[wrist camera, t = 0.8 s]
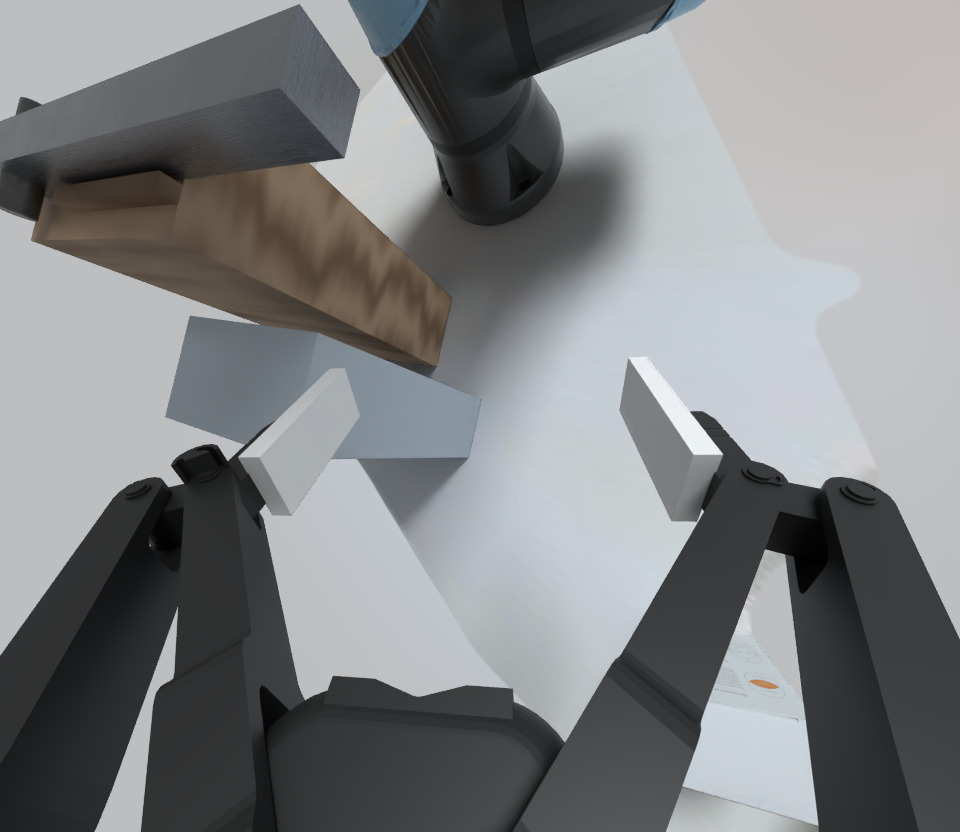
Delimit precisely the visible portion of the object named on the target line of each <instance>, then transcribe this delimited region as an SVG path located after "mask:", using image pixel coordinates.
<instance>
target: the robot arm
mask: <svg viewBox="0 0 960 832" xmlns="http://www.w3.org/2000/svg"><path fill="white" fill-rule="evenodd" d="M348 1H349V3H350V5H351V7H352V9H353V11H354V13H355V15H356V17H357V18H358V21H359V23H360V24H361V26H362V28H363V30H364V32H365V34H366V36H367V38H368V40H369V43H370V46H371V49H372V50H373V52H374V53H375V54H376V55H377V56H378V57H379V58H380V60H381V61H382V63H383V65H384V66H385V68H386V70H387V71H388V73H389V75H390V76H391V78H392V79H393V81H394V83H395V84H396V86H397V88H398V89H399V91H400V93H401V94H402V96H403V97H404V99H405V101H406V102H407V104H408V106H409V107H410V109H411V111H412V112H413V114H414V115H415V117H416V119H417V120H418V122H419V124H420V125H421V127H422V129H423V130H424V132H425V133H426V135H427V137H428V138H429V140H430V142H431V143H432V145H433V148H434V153H435V157H436V162H437V166H438V170H439V175H440V179H441V183H442V187H443V190H444V192H445V194H446V196H447V198H448V200H449V201H450V203H451V204H452V206H453V207H454V209H455V210H456V211H457V213H458V214H459V215H460V216H462V217H463V218H464V219H466V220H468V221H470V222H472V223H476V224H481V225H494V224H500V223H504V222H507V221H510V220H512V219H515V218H517V217H518V216H520V215H522V214H524V213H525V212H527V211H528V210H529V209H531V208H532V207H533V206H534V205H536V204H537V203H538V202H539V201H540V200H541V199H542V198H543V197H544V195H545V194H546V193H547V192H548V190H549V189H550V187H551V186H552V184H553V183H554V181H555V179H556V177H557V175H558V172H559V170H560V167H561V164H562V159H563V152H564V145H563V137H562V132H561V126H560V122H559V119H558V116H557V113H556V111H555V110H554V108H553V106H552V105H551V104H550V103H549V101H548V99H547V98H546V96H545V94H544V93H543V91H542V90H541V88H540V86H539V85H538V83H537V82H536V80H535V79H534V77H533V75H536V74H538V73H541V72H544V71H546V70H549V69H551V68H554V67H557V66H559V65H562V64H565V63H567V62H570V61H573V60H575V59H578V58H581V57H583V56H586V55H589V54H591V53H594V52H597V51H599V50H602V49H604V48H607V47H610V46H612V45H615V44H618V43H620V42H623V41H626V40H628V39H631V38H634V37H636V36H639V35H642V34H644V33H645V34H648V33H650V32H652V31H655V30H657V29H658V28H660V27H661V26H662V25H663V24H664V23H666V22H668V21H670V20H672V19H674V18H676V17H678V16H681V15H683V14H685V13H687V12H689V11H691V10H693V9H695V8H696V7H698V6H699V5H701V4H702V3H703V2H705V1H706V0H348ZM619 411H620V413H621V415H622V417H623V419H624V421H625V424H626V426H627V428H628V430H629V432H630V434H631V436H632V438H633V441H634V443H635V445H636V447H637V449H638V451H639V453H640V455H641V458H642V460H643V462H644V464H645V466H646V468H647V470H648V472H649V474H650V477H651V479H652V481H653V483H654V485H655V487H656V489H657V491H658V494H659V496H660V498H661V500H662V502H663V504H664V506H665V508H666V511H667V513H668V515H669V517H670V519H671V521H695V522H697V520H698V517H699V515H700V512H701V510H702V509H703V511H704V513H703V515H702V516H701V518H700V520H699V522H698V523H697V525H696V527H695V529H694V530H693V532H692V534H691V535H690V537H689V539H688V541H687V542H686V544H685V546H684V547H683V549H682V551H681V553H680V554H679V556H678V558H677V559H676V561H675V563H674V565H673V566H672V568H671V570H670V572H669V573H668V575H667V577H666V578H665V580H664V582H663V584H662V585H661V587H660V589H659V590H658V592H657V594H656V596H655V597H654V599H653V601H652V602H651V604H650V606H649V608H648V609H647V611H646V613H645V615H644V616H643V618H642V620H641V621H640V623H639V625H638V627H637V628H636V630H635V632H634V633H633V635H632V637H631V639H630V640H629V642H628V644H627V645H626V647H625V649H624V651H623V652H622V654H621V655H620V657H618V658H617V659H615V661H614V662H613V663H612V665H611V666H610V668H609V670H608V671H607V673H606V674H605V676H604V678H603V680H602V681H601V683H600V685H599V686H598V688H597V690H596V691H595V693H594V695H593V696H592V698H591V700H590V702H589V703H588V705H587V707H586V708H585V710H584V712H583V713H582V715H581V717H580V719H579V720H578V722H577V724H576V725H575V727H574V729H573V730H572V732H571V734H570V736H569V737H568V739H567V741H566V742H564V741H563V740H562V738H561V737H560V736H559V735H558V733H557V732H556V731H555V730H554V729H553V728H552V727H551V726H550V725H549V724H548V723H547V722H546V721H545V720H544V719H542V718H541V717H540V716H539V715H537V714H536V713H535V712H533V711H531V710H530V709H528V708H526V707H525V706H522V705H520V704H518V703H515V702H514V699H513V689H509V688H494V687H481V686H467V685H466V686H463V687H458V688H455V689H450V690H446V691H442V692H438V693H434V694H430V695H426V696H421V697H416V696H412V695H410V694H408V693H406V692H403V691H401V690H399V689H397V688H394V687H392V686H390V685H388V684H385V683H383V682H381V681H378V680H376V679H369V678H356V677H355V678H354V677H341V676H333V677H332V680H331V683H330V685H329V688H328V691H325V692H322V693H320V694H317V695H314V696H312V697H310V698H309V699H307V700H304V698H303V695H302V694H301V691H300V688H299V685H298V681H297V677H296V672H295V667H294V662H293V658H292V653H291V648H290V643H289V639H288V634H287V629H286V624H285V620H284V615H283V610H282V605H281V600H280V596H279V591H278V586H277V582H276V577H275V572H274V567H273V563H272V558H271V553H270V548H269V543H268V539H267V534H266V529H265V524H264V520H263V517H262V516H261V514H260V513H259V511H260V510H261V509H262V508H263V506H264V505H265V504H266V505H267V507H268V509H269V510H270V512H271V514H272V515H292V514H293V513H294V511H295V510H296V509H297V507H298V506H299V504H300V503H301V501H302V500H303V498H304V497H305V495H306V494H307V493H308V491H309V490H310V488H311V487H312V485H313V484H314V482H315V481H316V479H317V478H318V476H319V475H320V474H321V472H322V471H323V469H324V468H325V466H326V465H327V463H328V462H329V460H330V459H331V458H332V456H333V455H334V453H335V452H336V450H337V449H338V447H339V446H340V444H341V443H342V441H343V440H344V439H345V437H346V436H347V434H348V433H349V431H350V430H351V428H352V427H353V425H354V424H355V423H356V421H357V420H358V418H359V417H360V414H359V411H358V408H357V405H356V402H355V399H354V396H353V392H352V389H351V386H350V383H349V380H348V377H347V374H346V371H345V368H334V369H329V370H328V371H327V372H326V373H325V374H324V375H323V376H322V377H321V378H320V379H319V380H317V381H316V382H315V383H314V384H313V385H312V386H311V387H310V388H309V389H308V390H307V391H306V392H305V393H304V394H303V395H302V396H301V397H300V398H299V399H298V400H297V401H296V402H295V403H294V404H293V405H292V406H291V407H290V408H288V409H287V410H286V411H285V412H284V413H283V414H282V415H281V416H280V417H279V418H278V419H277V420H275V421H274V422H272V423H270V424H269V425H267V426H265V427H264V428H263V429H261V430H260V431H259V432H258V433H257V434H256V435H255V437H253V438H252V439H251V440H250V441H249V442H248V444H246V445H245V446H244V447H243V448H241V449H240V450H239V451H238V452H237V453H236V454H235V455H234V456H233V457H232V458H231V459H230V460H229V461H227V460H226V458H225V457H224V455H223V453H222V452H221V450H220V449H219V447H218V446H217V445H213V444H209V445H202V446H199V447H195V448H193V449H190V450H188V451H186V452H185V453H183V454H181V455H179V456H178V457H177V458H176V459H175V460H174V461H173V463H172V465H171V466H172V468H173V469H174V470H175V472H176V473H177V474H178V476H179V477H180V478H181V480H182V481H183V482H184V484H182V485H177V486H173V487H168V486H167V485H166V484H165V483H164V481H163V480H162V479H161V478H156V477H153V478H147V479H144V480H141V481H136V482H134V483H133V484H130V485H128V486H127V487H126V488H124V489H123V490H122V491H120V492H119V493H118V494H117V495H116V496H115V497H114V498H113V499H112V501H111V502H110V503H109V505H108V506H107V508H106V509H105V510H104V512H103V513H102V515H101V516H100V517H99V519H98V520H97V522H96V523H95V524H94V526H93V527H92V529H91V530H90V531H89V533H88V534H87V536H86V537H85V538H84V540H83V541H82V542H81V544H80V545H79V547H78V548H77V549H76V551H75V552H74V554H73V555H72V556H71V558H70V559H69V561H68V562H67V563H66V565H65V566H64V568H63V569H62V570H61V572H60V573H59V575H58V576H57V577H56V579H55V580H54V582H53V583H52V585H51V586H50V587H49V589H48V590H47V591H46V593H45V594H44V596H43V597H42V598H41V600H40V601H39V602H38V604H37V605H36V607H35V608H34V609H33V611H32V612H31V614H30V615H29V617H28V618H27V619H26V621H25V622H24V624H23V625H22V626H21V628H20V629H19V630H18V632H17V633H16V635H15V636H14V637H13V639H12V640H11V642H10V643H9V644H8V646H7V647H6V649H5V650H4V651H3V653H2V654H1V655H0V832H94V831H95V829H96V827H97V825H98V823H99V820H100V818H101V815H102V813H103V810H104V808H105V805H106V803H107V800H108V798H109V796H110V793H111V791H112V788H113V785H114V782H115V780H116V777H117V774H118V771H119V769H120V766H121V763H122V760H123V757H124V755H125V752H126V749H127V746H128V744H129V741H130V738H131V735H132V732H133V729H134V727H135V724H136V721H137V718H138V716H139V713H140V710H141V707H142V705H143V702H144V699H145V696H146V693H147V691H148V688H149V685H150V682H151V680H152V677H153V674H154V671H155V668H156V666H157V663H158V660H159V657H160V655H161V652H162V649H163V646H164V644H165V641H166V638H167V635H168V632H169V630H170V627H171V624H172V621H173V618H174V616H175V613H176V610H177V607H178V620H177V637H176V655H175V673H174V678H173V679H172V680H171V681H169V682H167V683H166V684H164V685H162V686H161V687H160V688H159V690H158V691H157V693H156V695H155V699H154V704H153V712H152V723H151V733H150V743H149V754H148V764H147V775H146V785H145V795H144V806H143V816H142V826H141V832H666V830H667V827H668V824H669V821H670V819H671V816H672V813H673V810H674V808H675V805H676V802H677V799H678V797H679V794H680V791H681V788H682V786H683V783H684V780H685V777H686V775H687V772H688V769H689V766H690V764H691V761H692V758H693V755H694V753H695V750H696V747H697V744H698V741H699V737H700V733H701V720H702V717H703V714H704V711H705V709H706V706H707V703H708V700H709V698H710V695H711V692H712V690H713V687H714V684H715V682H716V679H717V676H718V674H719V671H720V668H721V666H722V663H723V660H724V658H725V655H726V652H727V650H728V647H729V644H730V642H731V639H732V636H733V634H734V631H735V628H736V626H737V623H738V620H739V617H740V615H741V612H742V609H743V607H744V604H745V601H746V599H747V596H748V593H749V591H750V588H751V585H752V583H753V580H754V577H755V575H756V572H757V569H758V567H759V564H760V561H761V559H762V556H763V553H764V551H765V549H766V550H770V551H774V552H778V553H782V554H785V557H786V565H787V573H788V581H789V589H790V597H791V605H792V614H793V621H794V630H795V638H796V646H797V654H798V663H799V671H800V679H801V686H802V695H803V703H804V711H805V719H806V728H807V736H808V744H809V752H810V760H811V768H812V776H813V784H814V793H815V801H816V809H817V817H818V825H819V832H960V639H959V637H958V635H957V633H956V631H955V629H954V626H953V624H952V622H951V620H950V618H949V616H948V613H947V611H946V609H945V607H944V605H943V603H942V601H941V599H940V597H939V595H938V592H937V590H936V588H935V586H934V584H933V582H932V580H931V577H930V575H929V573H928V571H927V569H926V567H925V565H924V563H923V561H922V559H921V556H920V554H919V552H918V550H917V548H916V546H915V543H914V541H913V539H912V537H911V535H910V533H909V531H908V529H907V527H906V524H905V523H904V520H903V518H902V516H901V514H900V512H899V510H898V507H897V506H896V504H895V502H894V501H893V500H892V499H891V497H890V496H888V495H887V494H886V493H884V492H883V491H881V490H880V489H878V488H876V487H875V486H873V485H870V484H868V483H866V482H862V481H859V480H856V479H852V478H845V477H834V478H830V479H828V480H826V481H825V483H824V484H823V486H822V487H821V489H819V488H813V487H808V486H803V485H798V484H793V483H789V482H788V481H787V479H786V478H785V477H784V475H783V474H782V473H780V472H779V471H777V470H776V469H775V468H772V467H770V466H768V465H766V464H763V463H759V462H755V461H751V460H750V458H749V457H748V456H747V455H746V454H745V453H744V452H743V450H742V449H741V448H740V447H739V446H738V445H737V443H736V442H735V441H734V440H733V439H732V438H731V437H729V436H730V435H729V434H728V433H727V432H726V431H725V430H723V427H722V426H721V425H720V424H719V423H718V422H717V421H716V419H714V418H713V417H711V416H709V415H708V414H706V413H704V412H703V411H692V412H689V410H688V409H687V408H686V406H685V405H684V404H683V403H682V401H681V400H680V399H679V398H678V396H677V395H676V394H675V392H674V391H673V390H672V389H671V387H670V386H669V385H668V384H667V382H666V381H665V380H664V378H663V377H662V376H661V375H660V373H659V372H658V371H657V369H656V368H655V367H654V366H653V364H652V363H651V362H650V361H649V359H648V358H647V357H631V358H628V363H627V369H626V375H625V380H624V386H623V392H622V398H621V404H620V410H619ZM149 544H150V545H151V546H149Z"/></svg>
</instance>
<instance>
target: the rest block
mask: <svg viewBox="0 0 960 832" xmlns="http://www.w3.org/2000/svg"><path fill="white" fill-rule="evenodd" d="M334 368H345V371H346V374H347V377H348V380H349V383H350V386H351V389H352V392H353V396H354V399H355V402H356V405H357V408H358V411H359V414H360V417H359V418H358V420H357V421H356V423H355V424H354V425H353V427H352V428H351V430H350V431H349V433H348V434H347V436H346V437H345V439H344V440H343V441H342V443H341V444H340V446H339V447H338V449H337V450H336V452H335V453H334V455H333V456H332V458H331V459H375V458H455V457H469V454H470V450H471V445H472V441H473V436H474V432H475V427H476V422H477V418H478V413H479V409H480V404H481V400H482V399H479V398H477V397H474V396H472V395H469V394H467V393H465V392H462V391H460V390H457V389H455V388H452V387H450V386H447V385H445V384H443V383H440V382H438V381H435V380H433V379H430V378H428V377H425V376H423V375H420V374H418V373H416V372H413V371H411V370H408V369H406V368H403V367H401V366H398V365H396V364H394V363H391V362H389V361H386V360H384V359H381V358H379V357H376V356H374V355H371V354H369V353H367V352H364V351H362V350H359V349H357V348H354V347H352V346H349V345H347V344H344V343H342V342H340V341H337V340H335V339H332V338H330V337H327V336H325V335H322V334H320V333H317V332H309V331H301V330H294V329H286V328H279V327H271V326H263V325H255V324H247V323H240V322H233V321H225V320H218V319H210V318H203V317H195V316H190V317H189V321H188V326H187V330H186V334H185V338H184V342H183V346H182V350H181V354H180V359H179V363H178V367H177V371H176V375H175V379H174V383H173V387H172V391H171V395H170V399H169V404H168V408H167V412H166V416H165V417H167V418H169V419H173V420H175V421H178V422H181V423H184V424H187V425H190V426H193V427H196V428H199V429H201V430H204V431H207V432H210V433H213V434H216V435H219V436H222V437H224V438H227V439H230V440H233V441H236V442H239V443H242V444H245V445H246V444H248V442H249V441H250V440H251V439H252V438H253V437H255V435H256V434H257V433H258V432H259V431H260V430H261V429H263V428H264V427H265V426H267V425H269V424H270V423H272V422H274V421H275V420H277V419H278V418H279V417H280V416H281V415H282V414H283V413H284V412H285V411H286V410H287V409H288V408H290V407H291V406H292V405H293V404H294V403H295V402H296V401H297V400H298V399H299V398H300V397H301V396H302V395H303V394H304V393H305V392H306V391H307V390H308V389H309V388H310V387H311V386H312V385H313V384H314V383H315V382H316V381H317V380H319V379H320V378H321V377H322V376H323V375H324V374H325V373H326V372H327V371H328V370H329V369H334Z"/></svg>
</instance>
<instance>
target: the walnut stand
mask: <svg viewBox="0 0 960 832" xmlns="http://www.w3.org/2000/svg"><path fill="white" fill-rule="evenodd" d="M31 241H33V242H36V243H39V244H42V245H44V246H47V247H50V248H53V249H55V250H58V251H61V252H64V253H66V254H69V255H72V256H75V257H77V258H80V259H83V260H86V261H88V262H91V263H94V264H96V265H99V266H102V267H105V268H108V269H110V270H113V271H116V272H119V273H121V274H124V275H127V276H130V277H132V278H135V279H138V280H140V281H143V282H146V283H148V284H151V285H154V286H157V287H159V288H162V289H165V290H168V291H170V292H173V293H176V294H179V295H181V296H184V297H187V298H189V299H192V300H195V301H198V302H200V303H203V304H206V305H209V306H211V307H214V308H217V309H220V310H222V311H225V312H228V313H231V314H233V315H236V316H239V317H241V318H244V319H247V320H250V321H252V322H255V323H258V324H261V325H263V326H271V327H279V328H286V329H294V330H301V331H309V332H317V333H320V334H322V335H325V336H327V337H330V338H332V339H335V340H337V341H340V342H342V343H344V344H347V345H349V346H352V347H354V348H357V349H359V350H362V351H364V352H367V353H369V354H371V355H374V356H376V357H379V358H383V359H389V360H396V361H402V362H408V363H415V364H421V365H428V366H434V367H437V363H438V358H439V354H440V349H441V345H442V341H443V336H444V332H445V327H446V323H447V318H448V314H449V309H450V305H451V300H452V298H451V297H450V296H449V295H448V294H447V293H446V292H445V291H444V290H443V289H442V288H441V287H440V286H439V285H438V284H437V283H436V282H434V281H433V280H432V279H431V278H430V277H429V276H428V275H427V274H426V273H425V272H424V271H423V270H422V269H421V268H420V267H419V266H418V265H416V264H415V263H414V262H413V261H412V260H411V259H410V258H409V257H408V256H407V255H406V254H405V253H404V252H403V251H402V250H401V249H399V248H398V247H397V246H396V245H395V244H394V243H393V242H392V241H391V240H390V239H389V238H388V237H387V236H386V235H385V234H384V233H383V232H381V231H380V230H379V229H378V228H377V227H376V226H375V225H374V224H373V223H372V222H371V221H370V220H369V219H368V218H367V217H366V216H365V215H363V214H362V213H361V212H360V211H359V210H358V209H357V208H356V207H355V206H354V205H353V204H352V203H351V202H350V201H349V200H348V199H346V198H345V197H344V196H343V195H342V194H341V193H340V192H339V191H338V190H337V189H336V188H335V187H334V186H333V185H332V184H331V183H330V182H328V181H327V180H326V179H325V178H324V177H323V176H322V175H321V174H320V173H319V172H318V171H317V170H316V169H315V168H314V167H313V166H312V165H310V164H309V163H304V164H296V165H289V166H282V167H274V168H267V169H259V170H252V171H245V172H237V173H230V174H222V175H215V176H208V177H200V178H193V179H185V180H178V181H175V180H174V179H172V178H171V177H169V176H167V175H166V174H164V173H163V172H161V171H159V170H158V171H152V172H146V173H140V174H134V175H127V176H121V177H115V178H109V179H103V180H97V181H90V182H84V183H78V184H72V185H66V186H59V187H55V189H54V193H53V197H52V198H46V197H44V201H43V205H42V209H41V212H40V216H39V220H38V222H35V226H34V230H33V234H32V238H31Z"/></svg>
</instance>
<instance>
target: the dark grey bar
mask: <svg viewBox="0 0 960 832" xmlns="http://www.w3.org/2000/svg"><path fill="white" fill-rule="evenodd" d="M359 94H360V89H359V87H358V86H357V85H356V83H355V82H354V80H353V79H352V78H351V76H350V75H349V73H348V72H347V71H346V69H345V68H344V66H343V65H342V64H341V62H340V61H339V59H338V58H337V56H336V55H335V54H334V52H333V51H332V49H331V48H330V47H329V45H328V44H327V42H326V41H325V39H324V38H323V37H322V35H321V34H320V32H319V31H318V30H317V28H316V27H315V25H314V24H313V23H312V21H311V20H310V18H309V17H308V15H307V14H306V13H305V11H304V10H303V8H302V7H301V6H300V4H299V5H296V6H294V7H291V8H289V9H286V10H284V11H281V12H278V13H276V14H273V15H271V16H268V17H266V18H263V19H260V20H258V21H255V22H253V23H250V24H248V25H245V26H243V27H240V28H238V29H235V30H232V31H230V32H227V33H225V34H222V35H220V36H217V37H215V38H212V39H209V40H207V41H205V42H202V43H199V44H197V45H194V46H192V47H189V48H187V49H184V50H181V51H179V52H176V53H174V54H171V55H169V56H166V57H164V58H161V59H158V60H156V61H153V62H151V63H148V64H146V65H143V66H141V67H138V68H135V69H133V70H131V71H128V72H125V73H123V74H120V75H118V76H115V77H113V78H110V79H107V80H105V81H102V82H100V83H97V84H95V85H92V86H90V87H87V88H84V89H82V90H79V91H77V92H74V93H72V94H69V95H67V96H64V97H62V98H59V99H56V100H54V101H51V102H49V103H46V104H44V105H41V104H39V103H37V102H35V101H33V100H30V99H28V98H24V97H20V100H19V103H18V107H17V111H16V115H15V116H13V117H10V118H8V119H5V120H3V121H0V209H1V210H4V211H6V212H8V213H11V214H13V215H16V216H19V217H21V218H25V219H28V220H31V221H36V222H38V220H39V216H40V212H41V209H42V205H43V201H44V197H46V198H52V197H53V193H54V189H55V187H59V186H66V185H72V184H78V183H84V182H90V181H97V180H103V179H109V178H115V177H121V176H127V175H134V174H140V173H146V172H152V171H158V170H159V171H161V172H163V173H164V174H166V175H167V176H169V177H171V178H172V179H174V180H175V181H178V180H185V179H193V178H200V177H208V176H215V175H222V174H230V173H237V172H245V171H252V170H259V169H267V168H274V167H282V166H289V165H296V164H304V163H311V162H319V161H326V160H333V159H341V158H345V153H346V149H347V145H348V140H349V136H350V132H351V128H352V123H353V119H354V115H355V111H356V106H357V102H358V98H359Z"/></svg>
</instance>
